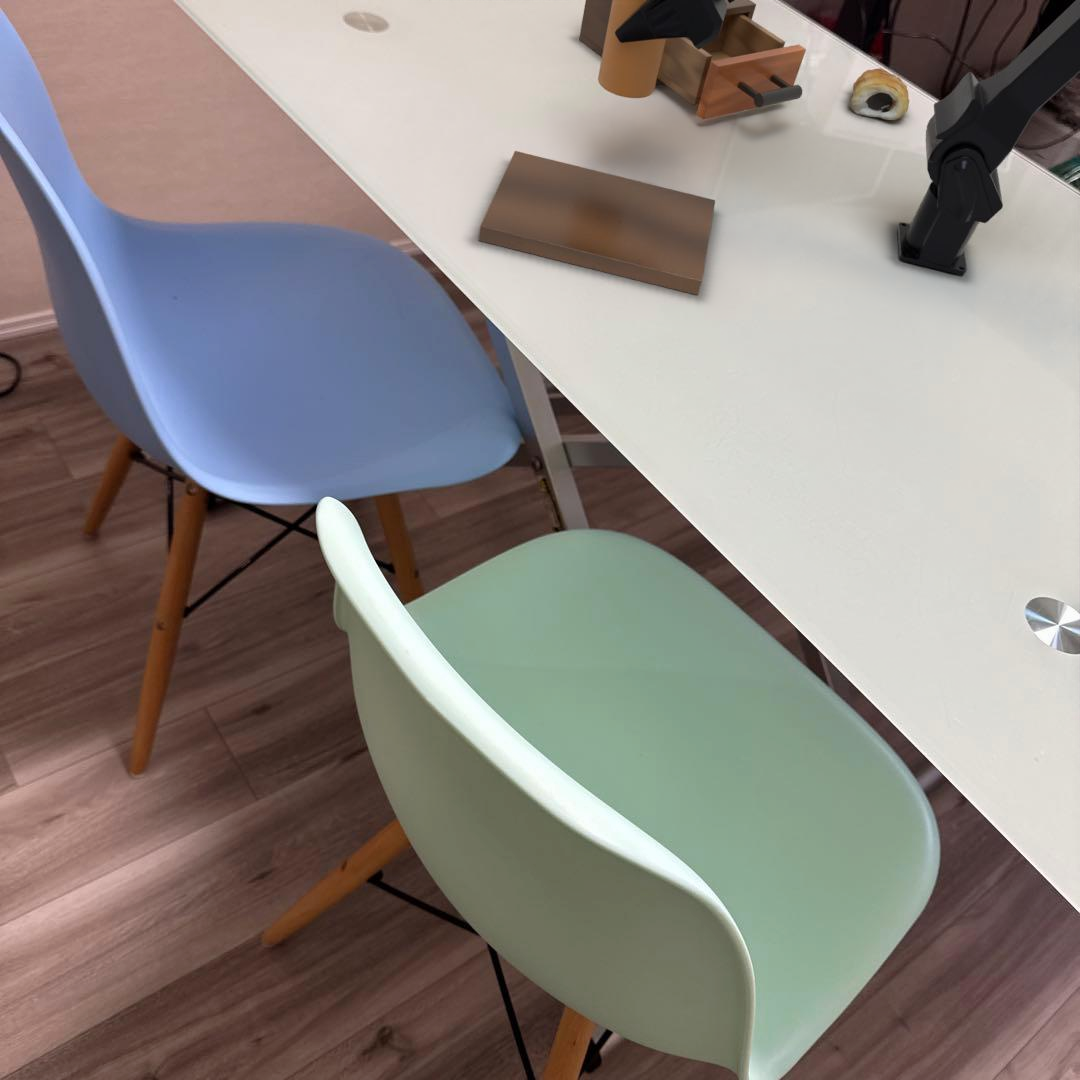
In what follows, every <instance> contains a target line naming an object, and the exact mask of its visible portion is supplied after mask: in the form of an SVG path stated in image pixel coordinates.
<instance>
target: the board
mask: <svg viewBox="0 0 1080 1080" xmlns="http://www.w3.org/2000/svg"><path fill="white" fill-rule="evenodd" d="M715 205H716V199H712V198H708V197H704V196H700V195H696V194H691V193H688V192H684V191H681V190H675V189H672V188H668V187H663V186H659V185H656V184H651V183H647V182H645V181H644V182H643V181H639V180H635V179H631V178H627V177H623V176H620V175H616V174H610V173H607V172H603V171H598V170H595V169H590V168H587V167H583V166H578V165H574V164H570V163H567V162H563V161H559V160H554V159H550V158H546V157H543V156H538V155H535V154H534V155H533V154H530V153H526V152H522V151H518V150H514V152H513V154H512V156H511V158H510V160H509V163H508V165H507V167H506V170H505V172H504V173H503V175H502V178H501V180H500V182H499V184H498V187H497V188H496V192H495V193H494V196H493V197H492V200H491V202H490V204H489V206H488V208H487V211H486V212H485V215H484V217H483V220H482V221H481V224H480V226H479V235H478V241H479V242H483V243H487V244H491V245H494V246H499V247H502V248H507V249H510V250H514V251H517V252H518V251H519V252H523V253H526V254H529V255H530V254H531V255H535V256H538V257H544V258H546V259H551V260H555V261H559V262H563V263H568V264H572V265H575V266H579V267H582V268H587V269H590V270H595V271H599V272H603V273H607V274H611V275H615V276H619V277H622V278H626V279H631V280H635V281H639V282H644V283H647V284H650V285H651V284H652V285H654V286H659V287H664V288H666V289H667V288H668V289H671V290H675V291H678V292H679V291H680V292H683V293H688V294H692V295H695V296H698V295H699V292H700V289H701V286H702V282H703V278H704V271H705V265H706V260H707V253H708V247H709V241H710V237H711V229H712V222H713V218H714V213H715V212H714V211H715Z"/></svg>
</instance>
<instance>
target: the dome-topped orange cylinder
mask: <svg viewBox="0 0 1080 1080" xmlns="http://www.w3.org/2000/svg"><path fill="white" fill-rule="evenodd" d="M645 1H646V0H613V1H612V7H611V12H610V17H609V23H608V28H607V33H606V38H605V44H604V49H603V54H602V57H601V61H600V66H599V69H598V70H599V71H598V76H597V81H598V83H599V85H600V86H601V87H602V89H604V90H605V91H607V92H609V93H611V94H613V95H615V96H619V97H622V98H628V99H643V98H647V97H650V96H651V95H652V94H653V93H654V92H655V89H656V87H655V84H656V80H657V76H658V72H659V67H660V63H661V59H662V55H663V50H664V46H665V42H666V39H654V40H645V41H636V42H626V43H621V42H619V40H618V38H617V37H616V35H615V31H616V29H617V28H618V27H619V26H620V25H621V24H622V23H623V22H624V21H625V20H626V19H627V18H628V17H630V16H631V15H632V14H633V13H634V12H635V11H636V10H637V9H638V8H639V7H640V6H641V5H642V4H643V3H644V2H645Z"/></svg>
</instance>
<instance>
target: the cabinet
mask: <svg viewBox="0 0 1080 1080" xmlns="http://www.w3.org/2000/svg"><path fill="white" fill-rule="evenodd" d="M612 1H613V0H585V3H584V7H583V14H582V20H581V26H580V31H579V32H580V33H579V37H578V41H580V42H582V43H583V44H584V45H586V46H587V47H588V48H589V49H591V50H592V51H593V52H595V53H596V54H598V56H600V57H601V58H602V54H603V49H604V44H605V38H606V33H607V28H608V23H609V17H610V12H611V7H612ZM725 2H726V4H727V10H726V13H725V16H728V15H734V14H740V13H742V14H743V15H745V16H746V17H748V18H750V19H751V20H753V17H754V13H755V10H756V7H757V3H755V2H754V1H752V0H734V1H733V2H731V3H730V4H729V2H728V0H725ZM662 86H667V85H666V84H665V83H663V82H662V81H661V80H659V79H658V78H657V80H656V84H655V88H656V87H662Z"/></svg>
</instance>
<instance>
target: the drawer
mask: <svg viewBox="0 0 1080 1080" xmlns="http://www.w3.org/2000/svg"><path fill="white" fill-rule="evenodd" d="M785 44H786V41H785V40H784V39H782V38H780V37H779V36H777V35H776V34H775V33H773V32H771V31H770V30H768V29H766V28H765V27H764V26H763V25H761V24H759V23H757V22H756V21H754V20H753V19H752V20H751V19H750V18H748V17H746V16H745V15H743V14H742V13H740V14H734V15H728V16H725V17H724V21H723V24H722V27H721V31H720V34H719V37H718V38H717V39H715V40H714V41H712V42H710V43H709V44H707V45H706V46H704V47H702V48H701V49H699V50H698V49H697V48H696V47H694V45H693V43H692V41H691V40H690V38H689V37H684V38H666V42H665V46H664V50H663V55H662V59H661V63H660V67H659V72H658V76H657V78H658V79H659V80H661V81H662V82H663V83H665V84H666V85H665V86H667V87H668V88H670V89H671V90H673V91H674V92H675V93H676V94H678V95H679V96H681V97H682V98H683V99H685V100H686V101H688V102H689V103H690V104H692V105H693V106H697V105H698V108H697V111H696V117H699V118H700V119H701V120H702V121H705V120H709V119H714V118H719V117H722V116H727V115H731V114H736V113H739V112H740V113H741V112H744V111H749V110H753V109H757V108H763V107H769V106H773V105H777V104H782V103H786V102H790V101H795V100H799V99H800V98H801V97H802V95H803V88H802V87H801V85H800V84H795V83H796V80H797V77H798V75H799V71H800V68H801V65H802V62H803V60H804V57H805V54H806V51H807V49H806V47H803V46H802V45H801V44H794V45H789V46H785Z"/></svg>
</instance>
